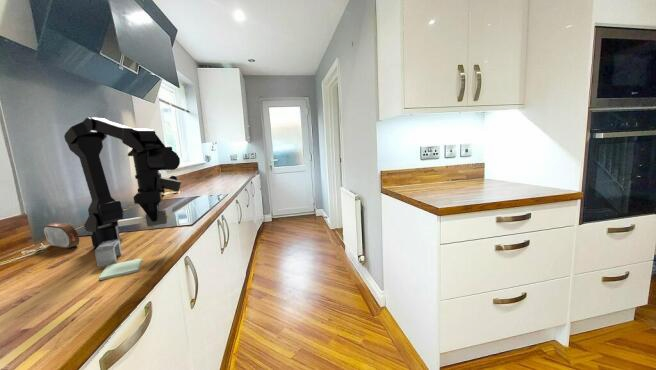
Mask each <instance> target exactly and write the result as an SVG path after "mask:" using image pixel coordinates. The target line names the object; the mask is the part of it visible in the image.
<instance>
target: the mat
mask: <svg viewBox="0 0 656 370" xmlns="http://www.w3.org/2000/svg"><path fill="white" fill-rule="evenodd" d="M142 262H143V258H141V257H140V258H138V259H132V260H127V261H122V262H117V263H115V264H111V265H106V267H104V270H103V271H102V273H101V274H100V275H99V277H98V281H102V280H107V279H112V278H115V277H116V278H117V277H120V276H124V275H128V274H132V273H137V272H139V271H140V267H141V266H142Z"/></svg>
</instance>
